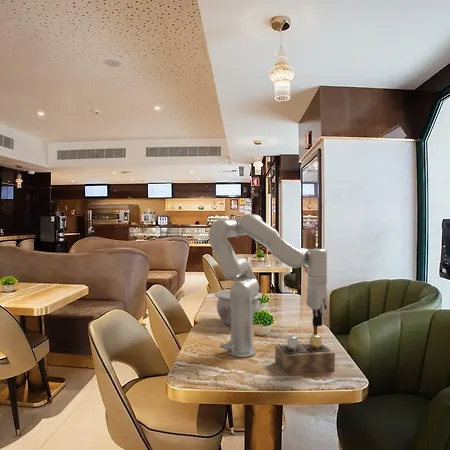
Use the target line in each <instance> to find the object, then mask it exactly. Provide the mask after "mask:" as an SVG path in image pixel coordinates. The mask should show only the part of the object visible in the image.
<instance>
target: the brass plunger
mask: <svg viewBox="0 0 450 450" xmlns="http://www.w3.org/2000/svg"><path fill="white" fill-rule="evenodd" d="M310 338H311V350H313V351H314V350H321V343H322V335H320V334H318V333H317V334H310Z"/></svg>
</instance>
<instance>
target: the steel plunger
mask: <svg viewBox="0 0 450 450" xmlns="http://www.w3.org/2000/svg"><path fill="white" fill-rule="evenodd" d="M298 344H299V338H298V336H297V335H293V334H292V335H288V336H287V344H286V345H287V351H288V352H298Z"/></svg>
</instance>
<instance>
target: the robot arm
mask: <svg viewBox="0 0 450 450" xmlns="http://www.w3.org/2000/svg"><path fill="white" fill-rule="evenodd" d="M245 235H247V236H249V237H250V238H252V239H253V240H254V241H256V242H258V243H259V245H262V246H263V247H264V248H266V250H267V251H268V252H269V253H270V254H272V256H274V257H275V258H276V259H277V260H279V261H280V262H282V263H283V264H285V265H287V266H288V267H290V268H293V269H297V268H300V267H304V266H307V286H306V305H307V307H309V308H310V309H311V310H312V312H311V313H312V320H313V323H312V326H313V325H314V326H318V327H322V326H323V316H324V314H326V310H327V309H328V302H329V301H328V299H329V298H328V288H327V284H328V263H327V262H328V261H327V260H328V257H327V256H328V255H327V254H328V253H327V250H326V249H324V248H304V247H296V248H295V247H294V246H292V245H291V244H289V243H288V242H286V241H285V240H284V239H283V238H282V237H281V235H279V232H278V231H277V229H275V228H273V227H272V226H270V225H269V224H267V223H266V222H265V221H264V220H263V218H262V217H261V216H260V215H258V214H253V213H246V214H242V216H241V217H236V218H220V219H217V220H216V221H214V222H213V223H212V224H211V226H210V228H209V230H208V242H209V245H210V247H211V249H212V251H213V253H214V255H215V257H216V260H217V262H218V264H219V266H220V269H221V272H222V274H223V275H224V277H225V278H226V279H228V280H235V282H234V283H233V284H232V285H231V287H230V288H229V289H230V301H231V326H230V340H229V341H228V342H226V343H220V344H219V348H220V349H224V350H227V351H226V352H227V354H229V355H230V356H232V357H235V358H249V357H252V356H255V355H256V353H257V349H256V348H255V347H254V346H253V334H254V333H253V332H254V331H253V327H254V326H253V324H254V322H253V309H252V302H251V299H252V298H254V297H255V296H257V294H258V293H259V292H260V284H259V281H258V280H257V277H256V275H255V273H254V271H253V268H252V266H251V264H250V263H249V261H248V260H247V259H246V258H245V257H243V256H237V254H236V252H235V250H234V247H233V246H232V244H231V243H230V241H229V240H228V238H235V237H241V236H245Z"/></svg>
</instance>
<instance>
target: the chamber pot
mask: <svg viewBox="0 0 450 450" xmlns="http://www.w3.org/2000/svg"><path fill="white" fill-rule="evenodd" d="M230 289H231V288H228V289H227V288H226V289H221V290H219V291H216V292H214V296H215V297H216V298H217V299H218V300H217V302H216V309H217V315H218V316H219V318H220V320H221V321H222V322H223V323H224V324H225V325H227V326H230V325H231V301H230ZM262 297H263V293H261V292H260V291H259V293H258V294H257V296H255V297H254V298H252V299H251V302H252V309H253V313H255V312H258V311H259V312H260V308H261V304H260V301H259V299H260V298H262Z"/></svg>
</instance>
